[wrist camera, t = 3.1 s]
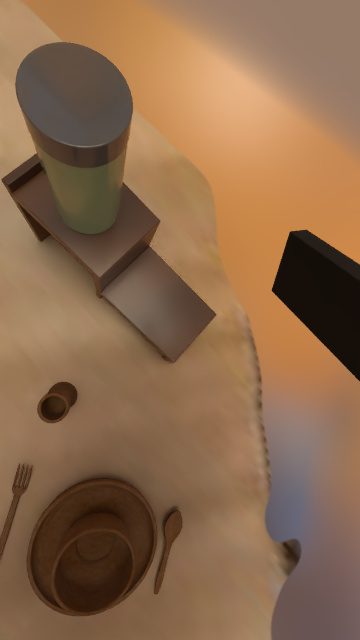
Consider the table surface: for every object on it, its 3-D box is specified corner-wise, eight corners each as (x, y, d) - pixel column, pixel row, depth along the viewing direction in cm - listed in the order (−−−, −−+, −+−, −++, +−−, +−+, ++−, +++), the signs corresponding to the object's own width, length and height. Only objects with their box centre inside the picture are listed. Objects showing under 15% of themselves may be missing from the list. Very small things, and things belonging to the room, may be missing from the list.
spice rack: (36, 237, 30) (0, 179, 19) (84, 197, 32) (76, 124, 21) (165, 360, 32) (195, 368, 22) (203, 318, 34) (249, 305, 23)
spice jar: (40, 200, 21) (-13, 77, 11) (87, 163, 22) (76, 22, 12) (88, 247, 22) (77, 169, 12) (132, 209, 23) (154, 108, 13)
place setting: (-22, 595, 26) (-57, 664, 20) (46, 377, 29) (33, 385, 23) (161, 604, 30) (174, 664, 24) (205, 412, 33) (226, 426, 27)
